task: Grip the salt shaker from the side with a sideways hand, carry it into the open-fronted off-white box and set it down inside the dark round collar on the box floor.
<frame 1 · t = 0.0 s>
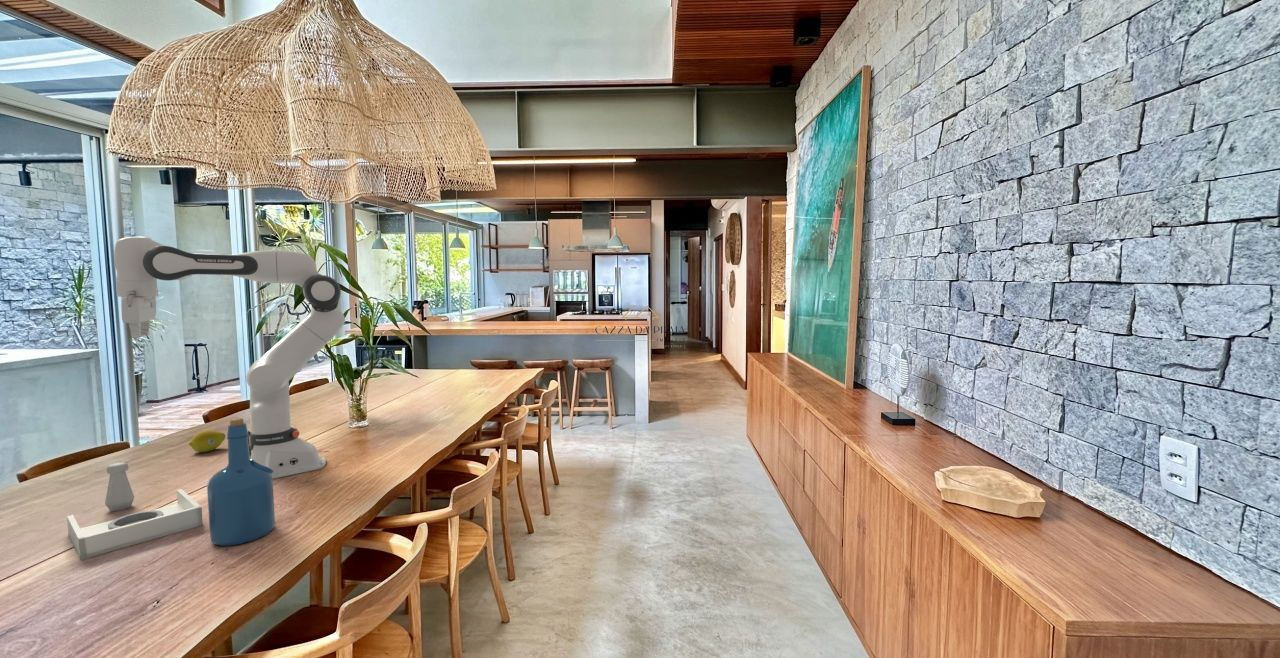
hand: (140, 336, 155), 48 cm above the table, tool pointing down, fingers open, 8 cm apart
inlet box: (137, 530, 132), on the table
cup: (251, 453, 194), on the table
wine bottle: (244, 535, 130), on the table
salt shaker: (120, 508, 145), on the table
lemon: (208, 451, 197), on the table
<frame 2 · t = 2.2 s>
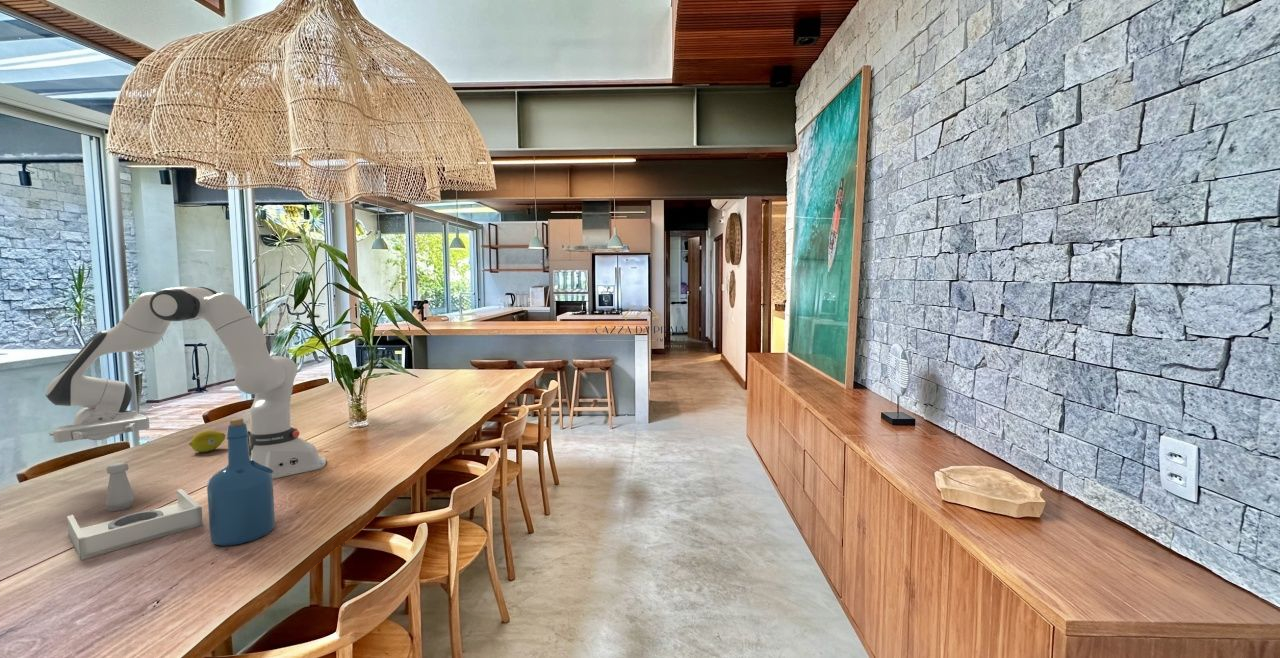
hand: (107, 432, 151), 20 cm above the table, tool horizontal, fingers open, 8 cm apart
nothing on the table moved.
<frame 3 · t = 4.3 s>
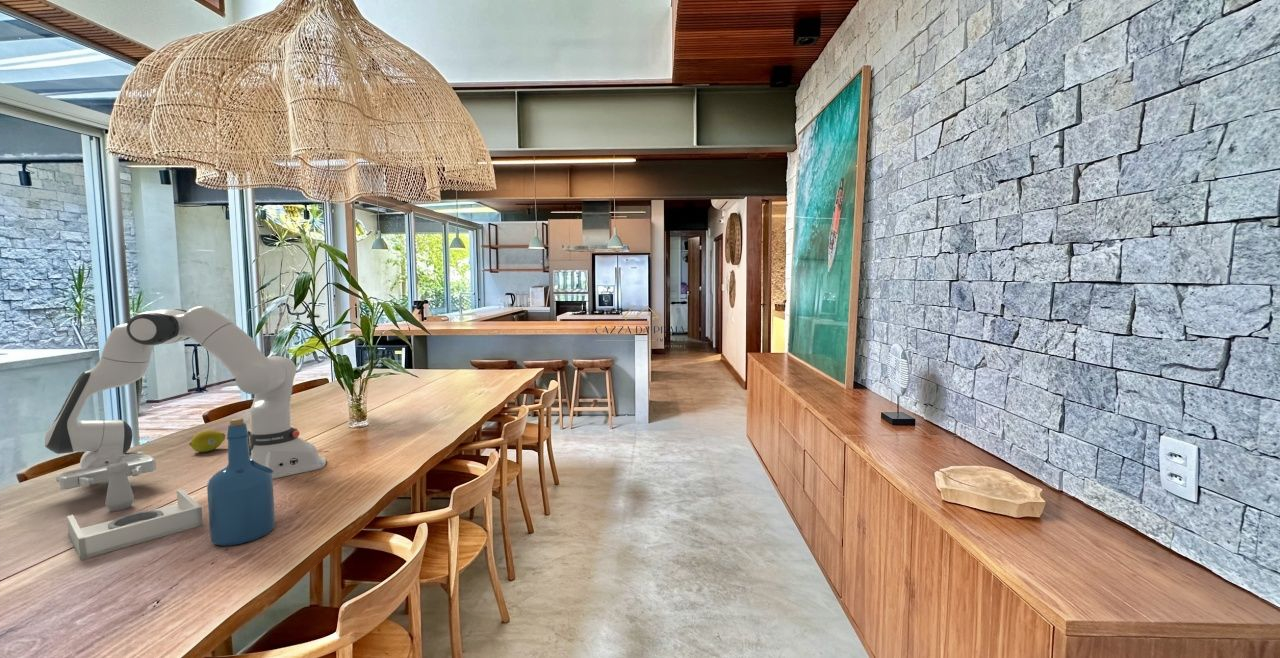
hand: (113, 477, 150), 7 cm above the table, tool horizontal, fingers open, 8 cm apart
nothing on the table moved.
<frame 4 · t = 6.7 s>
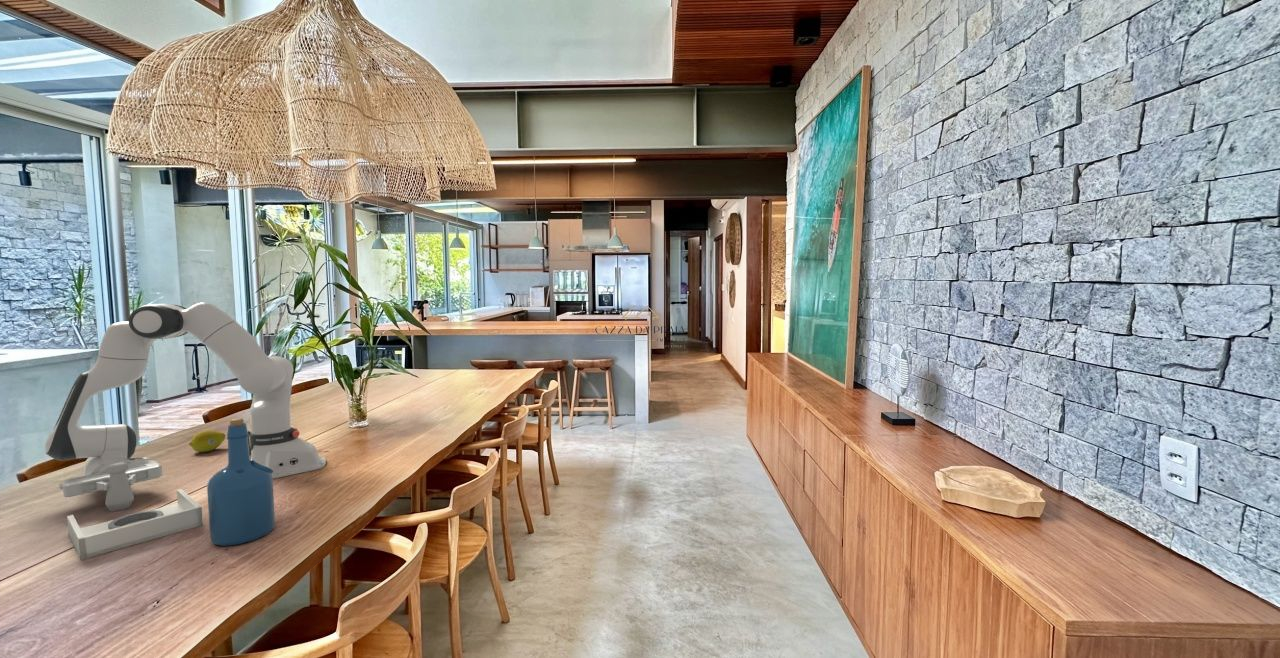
hand: (119, 485, 144), 7 cm above the table, tool horizontal, fingers closed on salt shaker, 3 cm apart
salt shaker: (120, 508, 145), on the table, touching gripper
everything else where it was.
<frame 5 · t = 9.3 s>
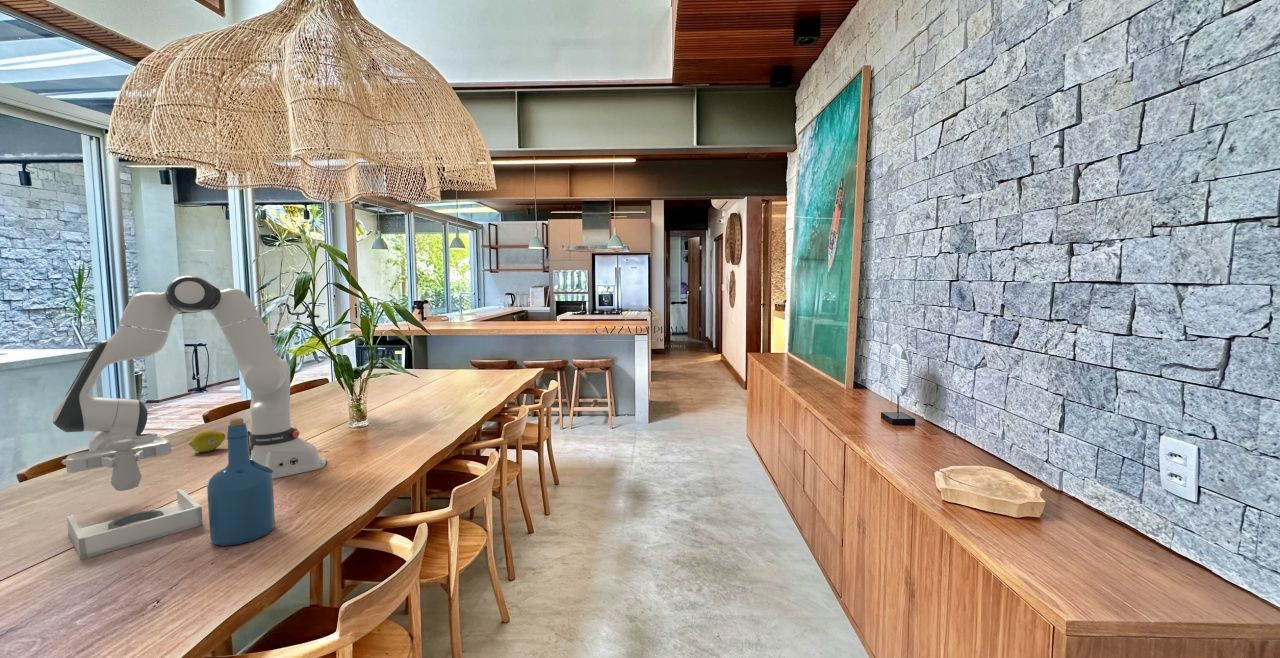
hand: (125, 460, 136), 17 cm above the table, tool horizontal, fingers closed on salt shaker, 3 cm apart
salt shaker: (127, 488, 137), point 9 cm above the table, touching gripper
everything else where it was.
when the fingers open (9 cm above the table, at t = 12.1 s): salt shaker stays where it is, resting on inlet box.
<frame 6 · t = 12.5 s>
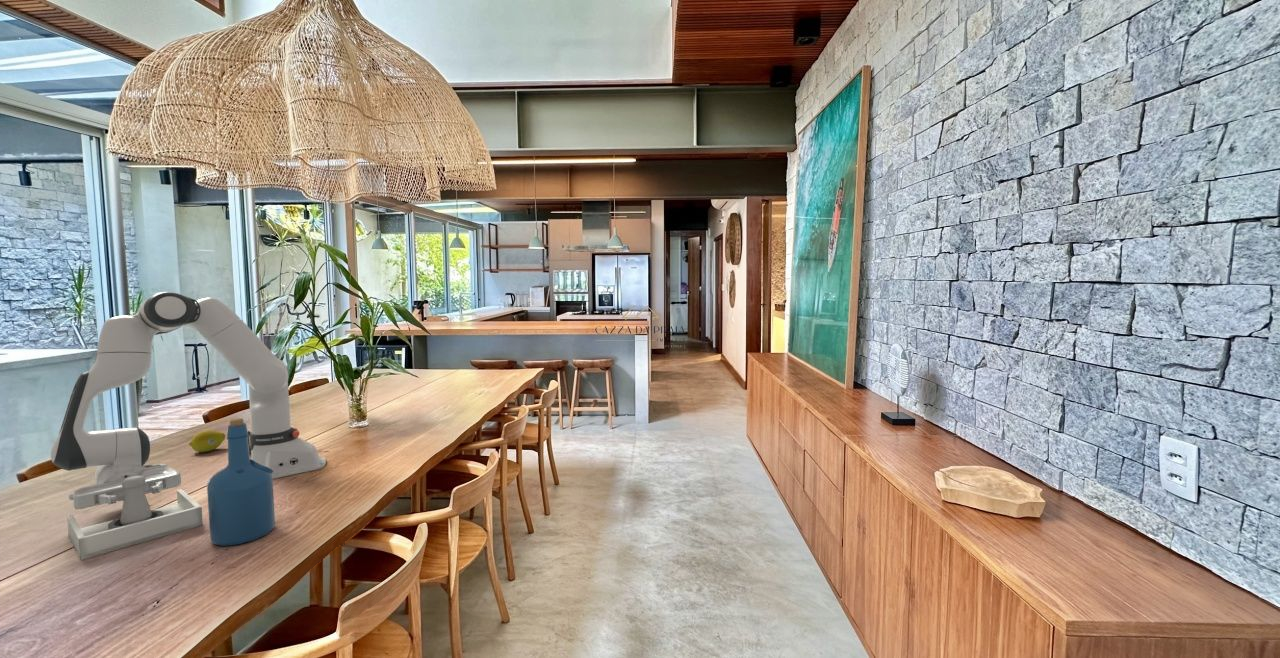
hand: (135, 495, 131), 9 cm above the table, tool horizontal, fingers open, 7 cm apart
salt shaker: (137, 526, 132), point 1 cm above the table, touching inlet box
everything else where it was.
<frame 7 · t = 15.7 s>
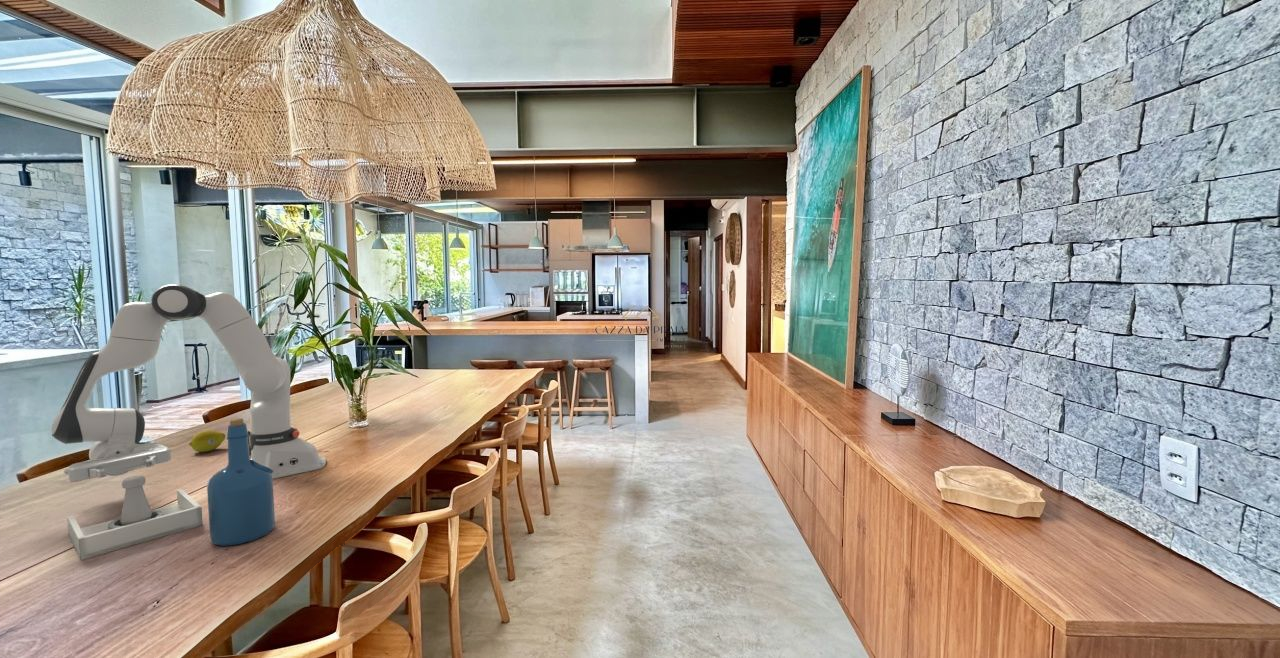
hand: (126, 468, 139), 14 cm above the table, tool horizontal, fingers open, 8 cm apart
nothing on the table moved.
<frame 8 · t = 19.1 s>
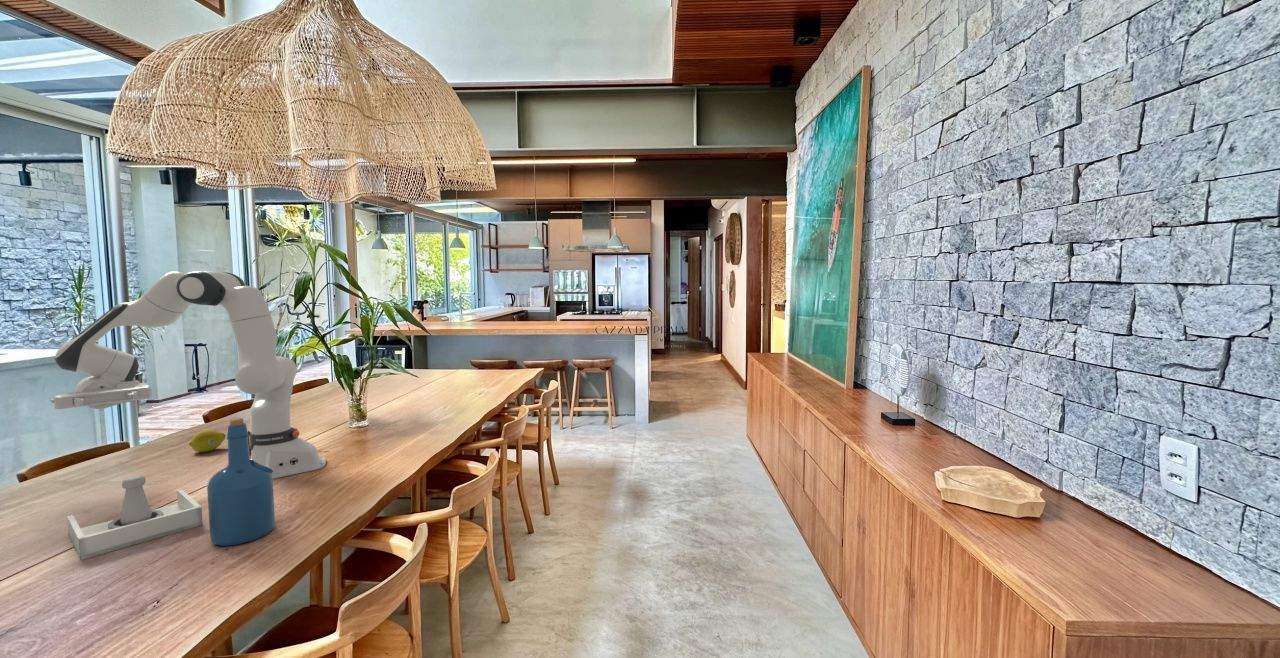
hand: (109, 399, 149), 30 cm above the table, tool horizontal, fingers open, 8 cm apart
nothing on the table moved.
at the end: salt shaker 0.1 cm off-centre on the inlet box, point 0.8 cm above the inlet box's base; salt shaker tilted 0°; the gripper is holding nothing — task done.
